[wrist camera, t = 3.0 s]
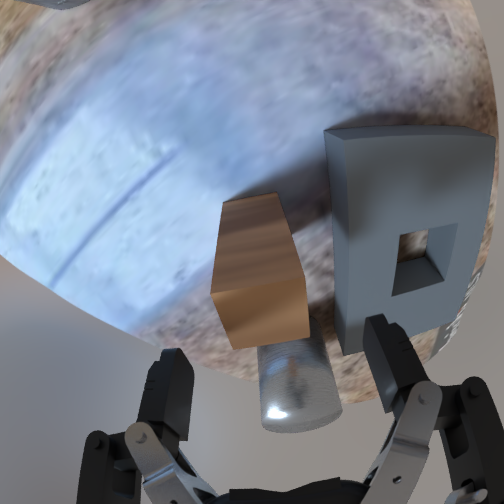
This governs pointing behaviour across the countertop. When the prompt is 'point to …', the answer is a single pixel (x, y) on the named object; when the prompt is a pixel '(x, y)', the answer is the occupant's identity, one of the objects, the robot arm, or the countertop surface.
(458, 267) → the socket block
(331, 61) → the countertop surface
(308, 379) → the round peg
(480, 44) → the countertop surface
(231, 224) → the square peg
